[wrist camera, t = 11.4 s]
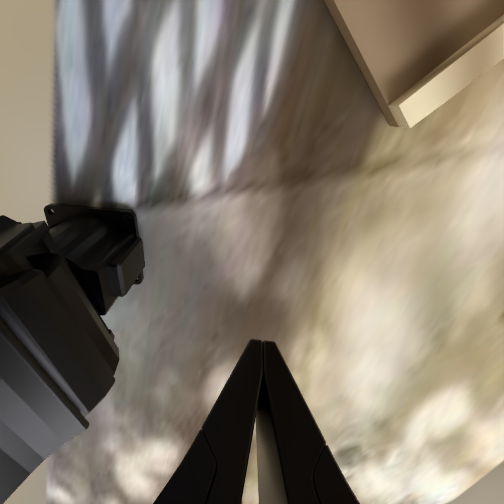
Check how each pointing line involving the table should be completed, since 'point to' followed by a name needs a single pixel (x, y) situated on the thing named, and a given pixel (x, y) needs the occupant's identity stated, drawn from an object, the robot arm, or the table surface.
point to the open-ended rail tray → (420, 49)
